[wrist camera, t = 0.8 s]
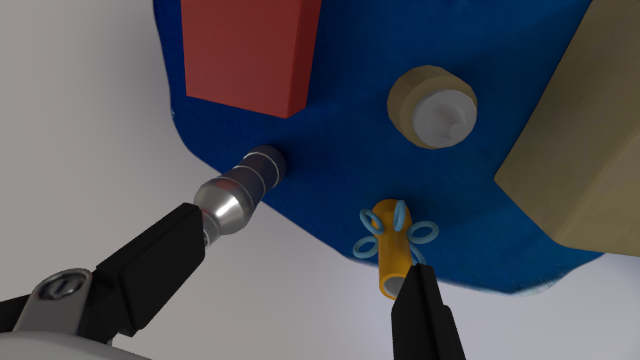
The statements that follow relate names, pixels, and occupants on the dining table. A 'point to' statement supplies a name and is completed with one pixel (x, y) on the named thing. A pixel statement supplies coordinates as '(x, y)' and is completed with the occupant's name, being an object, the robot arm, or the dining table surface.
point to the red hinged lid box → (304, 54)
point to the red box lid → (241, 52)
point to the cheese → (586, 139)
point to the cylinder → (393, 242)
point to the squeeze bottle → (432, 107)
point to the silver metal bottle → (238, 192)
